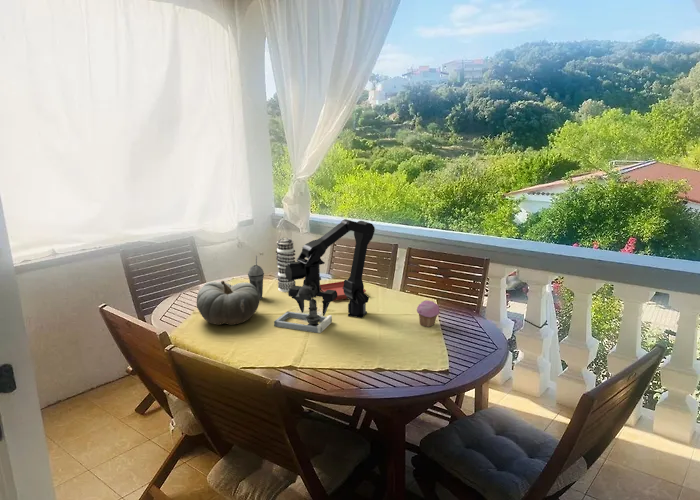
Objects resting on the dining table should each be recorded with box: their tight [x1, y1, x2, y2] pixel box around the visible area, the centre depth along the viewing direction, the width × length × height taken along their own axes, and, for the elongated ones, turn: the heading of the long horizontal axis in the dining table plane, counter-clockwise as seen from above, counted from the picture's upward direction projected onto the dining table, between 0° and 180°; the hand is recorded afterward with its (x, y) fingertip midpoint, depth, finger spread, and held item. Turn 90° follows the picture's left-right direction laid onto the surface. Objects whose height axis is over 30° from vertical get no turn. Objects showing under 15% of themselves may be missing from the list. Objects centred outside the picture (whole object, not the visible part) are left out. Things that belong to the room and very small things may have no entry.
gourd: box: [196, 280, 261, 326], centre depth 201 cm, size 25×25×17 cm
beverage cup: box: [247, 255, 265, 300], centre depth 224 cm, size 7×7×20 cm
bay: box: [273, 311, 333, 334], centre depth 197 cm, size 20×11×3 cm, turn 70°
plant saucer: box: [320, 280, 367, 302], centre depth 232 cm, size 18×18×3 cm
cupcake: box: [416, 299, 441, 328], centre depth 194 cm, size 9×9×10 cm
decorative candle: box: [275, 237, 296, 293], centre depth 235 cm, size 9×9×25 cm
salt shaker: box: [306, 297, 321, 326], centre depth 194 cm, size 6×6×12 cm
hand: (313, 313), depth 194 cm, fingers open, 9 cm apart
